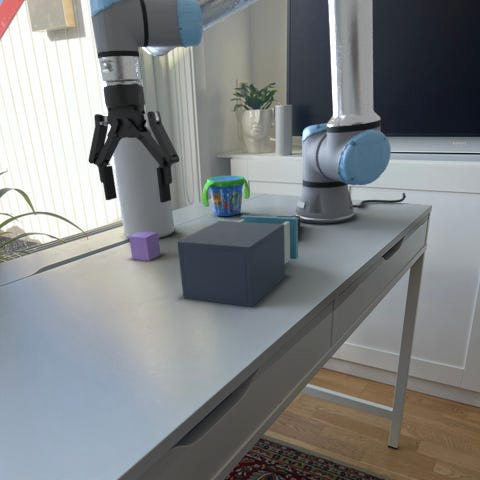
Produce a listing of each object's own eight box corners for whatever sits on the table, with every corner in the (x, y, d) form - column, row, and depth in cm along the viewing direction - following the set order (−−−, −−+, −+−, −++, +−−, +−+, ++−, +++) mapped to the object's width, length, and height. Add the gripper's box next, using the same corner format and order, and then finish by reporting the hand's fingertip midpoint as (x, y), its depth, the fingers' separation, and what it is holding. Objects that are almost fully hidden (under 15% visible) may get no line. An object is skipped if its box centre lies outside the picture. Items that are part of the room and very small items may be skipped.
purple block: (144, 253, 105) (141, 231, 103) (161, 254, 103) (158, 232, 101) (132, 259, 102) (128, 236, 100) (149, 260, 100) (146, 237, 98)
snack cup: (240, 207, 146) (238, 173, 141) (260, 212, 138) (259, 176, 133) (195, 216, 138) (191, 179, 134) (213, 221, 130) (210, 183, 126)
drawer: (255, 246, 102) (253, 209, 99) (306, 250, 98) (306, 211, 94) (214, 274, 87) (210, 231, 84) (272, 280, 82) (271, 235, 79)
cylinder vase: (161, 225, 129) (149, 126, 119) (183, 233, 119) (171, 126, 109) (117, 234, 123) (100, 130, 113) (136, 243, 113) (119, 130, 103)
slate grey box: (223, 270, 91) (219, 220, 87) (285, 276, 86) (284, 224, 82) (183, 298, 79) (176, 241, 75) (252, 307, 74) (249, 247, 70)
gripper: (57, 88, 91) (78, 201, 100) (167, 79, 81) (180, 206, 89) (84, 88, 97) (101, 195, 106) (190, 80, 87) (200, 198, 96)
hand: (137, 200), depth 98 cm, fingers open, 13 cm apart
